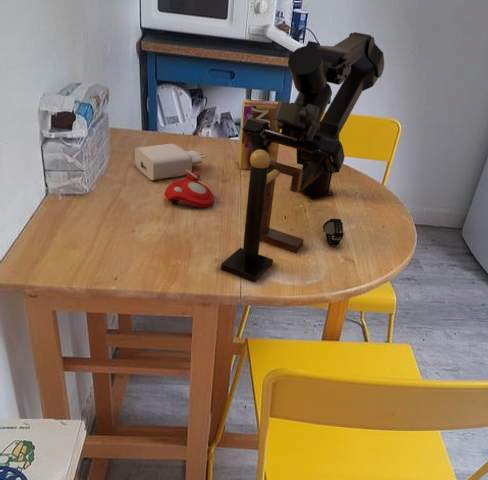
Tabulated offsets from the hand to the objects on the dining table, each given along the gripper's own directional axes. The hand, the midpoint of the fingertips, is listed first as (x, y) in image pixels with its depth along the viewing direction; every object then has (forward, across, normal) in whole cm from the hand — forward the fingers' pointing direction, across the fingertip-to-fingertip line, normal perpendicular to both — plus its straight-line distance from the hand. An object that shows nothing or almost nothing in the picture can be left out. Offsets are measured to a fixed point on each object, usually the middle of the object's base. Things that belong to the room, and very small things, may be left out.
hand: (275, 184), depth 89 cm
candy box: (-12, -17, +26) cm, 33 cm away
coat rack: (+15, +3, -1) cm, 15 cm away
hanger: (+9, +3, +5) cm, 10 cm away
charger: (-2, -30, +16) cm, 34 cm away
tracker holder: (+5, -19, +9) cm, 22 cm away
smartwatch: (+5, +12, +9) cm, 15 cm away
